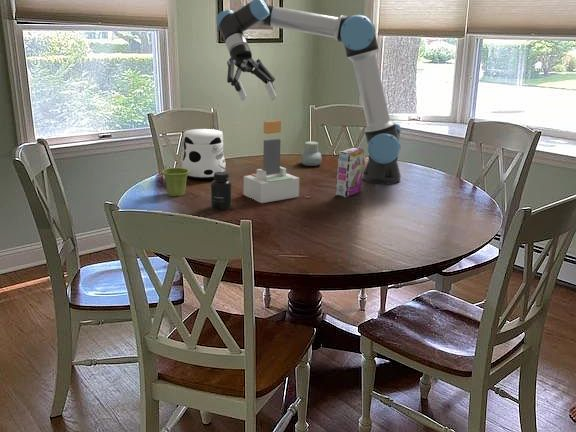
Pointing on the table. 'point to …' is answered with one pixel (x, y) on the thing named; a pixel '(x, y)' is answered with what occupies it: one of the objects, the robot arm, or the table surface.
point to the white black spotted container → (203, 153)
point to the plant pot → (176, 180)
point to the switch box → (271, 186)
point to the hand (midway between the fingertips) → (259, 98)
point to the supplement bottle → (221, 191)
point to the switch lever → (272, 148)
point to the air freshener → (311, 154)
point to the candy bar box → (349, 172)
